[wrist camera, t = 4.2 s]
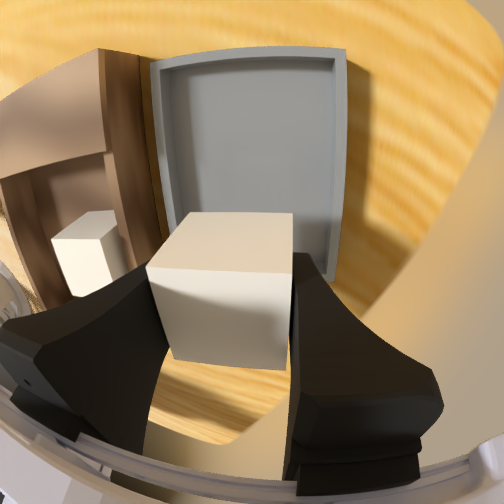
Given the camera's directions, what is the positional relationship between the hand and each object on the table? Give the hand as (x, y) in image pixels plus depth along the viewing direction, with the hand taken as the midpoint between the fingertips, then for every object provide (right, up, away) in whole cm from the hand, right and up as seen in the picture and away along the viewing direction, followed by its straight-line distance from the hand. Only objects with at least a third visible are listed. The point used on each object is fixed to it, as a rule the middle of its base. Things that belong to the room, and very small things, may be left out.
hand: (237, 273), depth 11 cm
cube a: (0, +1, +1) cm, 1 cm away
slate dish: (+1, +5, +4) cm, 7 cm away
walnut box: (-11, +4, +6) cm, 13 cm away
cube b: (-8, +2, +7) cm, 11 cm away
